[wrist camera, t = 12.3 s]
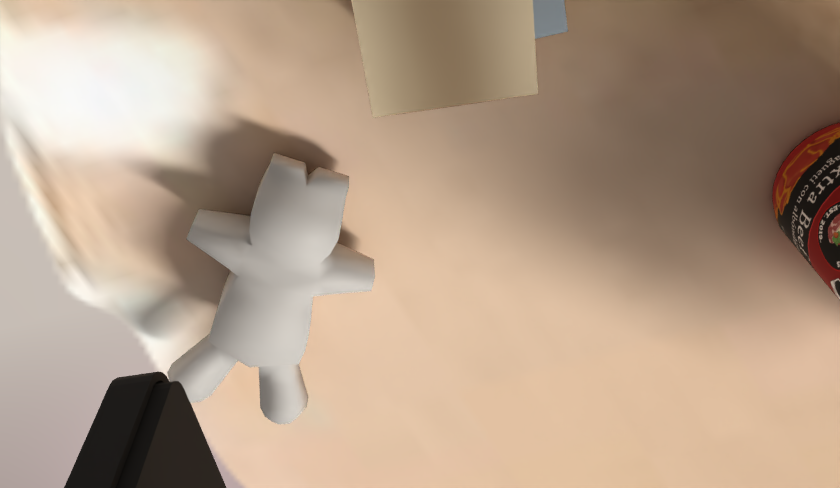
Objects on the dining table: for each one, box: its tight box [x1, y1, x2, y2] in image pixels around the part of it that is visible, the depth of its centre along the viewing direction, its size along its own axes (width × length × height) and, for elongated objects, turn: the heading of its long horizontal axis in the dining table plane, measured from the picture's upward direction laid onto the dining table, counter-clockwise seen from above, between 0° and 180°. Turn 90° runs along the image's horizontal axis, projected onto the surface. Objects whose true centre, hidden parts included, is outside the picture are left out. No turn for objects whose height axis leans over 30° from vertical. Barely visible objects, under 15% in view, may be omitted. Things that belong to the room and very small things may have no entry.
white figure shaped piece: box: [168, 153, 375, 424], centre depth 41 cm, size 10×5×15 cm
